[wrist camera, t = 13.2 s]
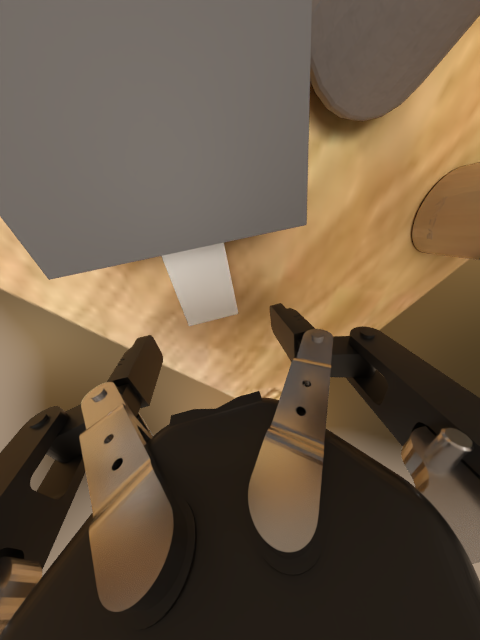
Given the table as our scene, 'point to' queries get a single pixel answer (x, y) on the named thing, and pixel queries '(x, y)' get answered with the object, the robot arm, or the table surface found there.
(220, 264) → the long white plank
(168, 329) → the table surface
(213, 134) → the shelf
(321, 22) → the coffee pot
